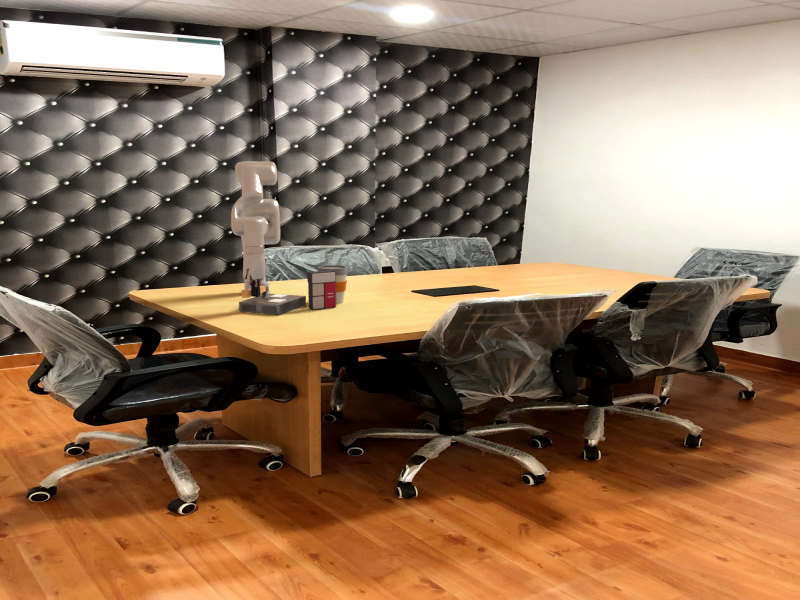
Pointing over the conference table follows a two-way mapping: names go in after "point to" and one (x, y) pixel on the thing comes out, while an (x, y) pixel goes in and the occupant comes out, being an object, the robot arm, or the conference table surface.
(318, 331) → the conference table surface
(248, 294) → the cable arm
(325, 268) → the reusable coffee cup
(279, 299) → the label
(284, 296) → the label
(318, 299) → the grey and red box
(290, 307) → the server box
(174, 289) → the conference table surface
